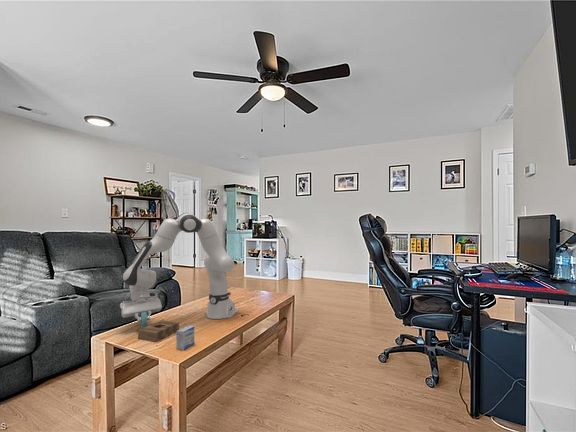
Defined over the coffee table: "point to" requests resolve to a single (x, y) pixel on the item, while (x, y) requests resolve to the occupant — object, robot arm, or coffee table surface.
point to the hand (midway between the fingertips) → (144, 320)
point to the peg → (143, 319)
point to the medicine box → (185, 337)
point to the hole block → (158, 331)
